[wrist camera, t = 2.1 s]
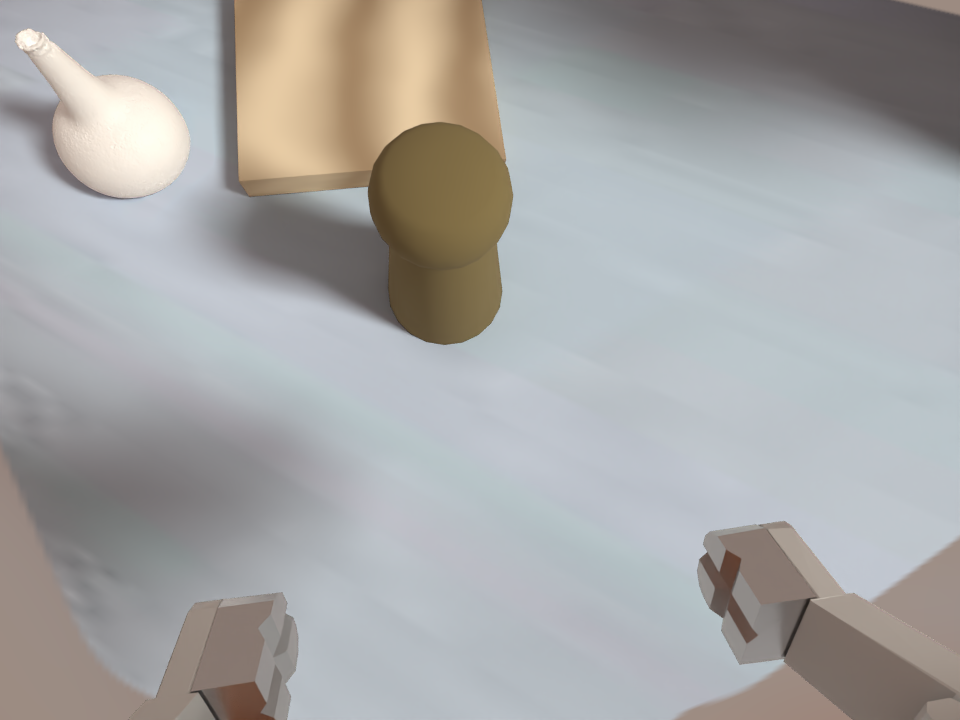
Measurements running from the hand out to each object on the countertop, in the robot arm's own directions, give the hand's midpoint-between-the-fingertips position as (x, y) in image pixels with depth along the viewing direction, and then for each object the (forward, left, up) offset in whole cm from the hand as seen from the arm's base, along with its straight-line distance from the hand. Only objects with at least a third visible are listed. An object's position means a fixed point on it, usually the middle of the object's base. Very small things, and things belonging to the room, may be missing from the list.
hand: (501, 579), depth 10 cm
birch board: (+3, -25, -16) cm, 30 cm away
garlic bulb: (+16, -22, -16) cm, 31 cm away
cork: (0, -12, -16) cm, 20 cm away
